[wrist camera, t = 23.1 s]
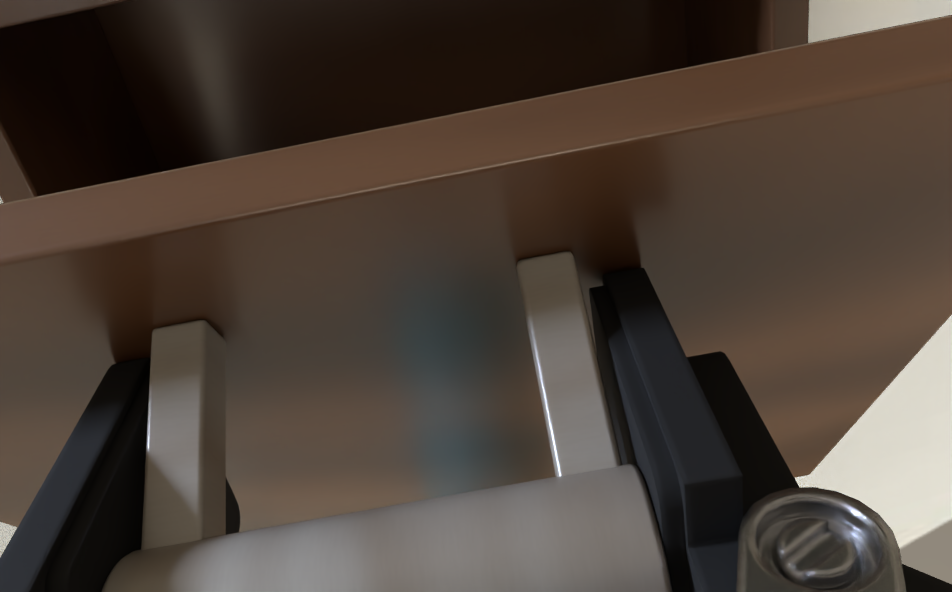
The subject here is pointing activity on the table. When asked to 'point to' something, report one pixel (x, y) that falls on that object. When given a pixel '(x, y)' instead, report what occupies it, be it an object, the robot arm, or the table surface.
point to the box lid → (481, 316)
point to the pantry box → (316, 70)
